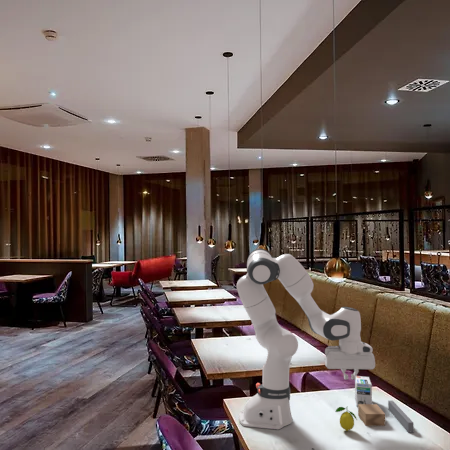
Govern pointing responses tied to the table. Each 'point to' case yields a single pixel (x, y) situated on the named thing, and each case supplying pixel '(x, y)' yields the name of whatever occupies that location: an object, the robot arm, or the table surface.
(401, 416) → the board
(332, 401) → the table surface
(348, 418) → the lemon
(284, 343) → the robot arm
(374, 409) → the walnut block
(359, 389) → the light bulb box
